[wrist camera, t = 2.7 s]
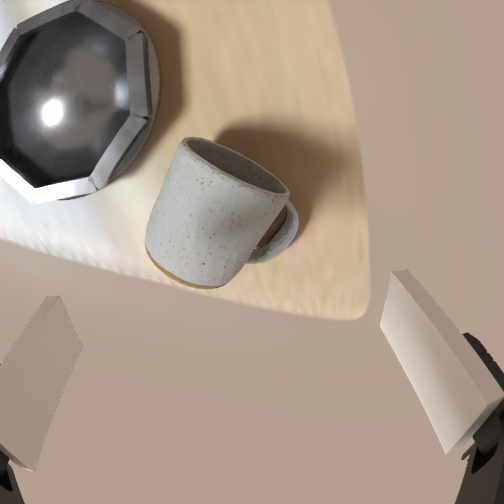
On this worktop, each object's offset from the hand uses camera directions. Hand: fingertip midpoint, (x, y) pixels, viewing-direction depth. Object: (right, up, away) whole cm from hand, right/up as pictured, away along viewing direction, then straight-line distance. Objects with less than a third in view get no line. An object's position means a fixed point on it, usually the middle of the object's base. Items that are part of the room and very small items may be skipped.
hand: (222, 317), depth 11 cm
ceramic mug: (-1, +6, +13) cm, 14 cm away
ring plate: (-14, +14, +7) cm, 21 cm away
